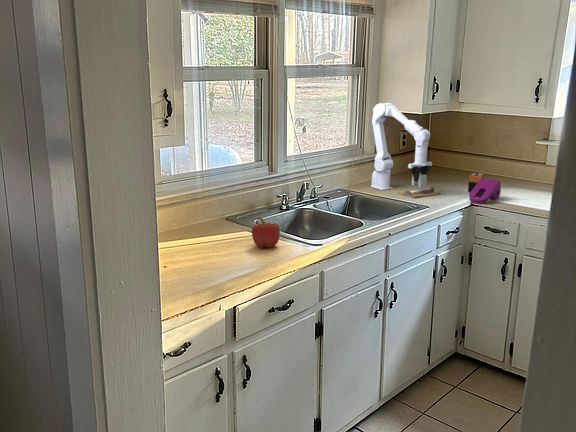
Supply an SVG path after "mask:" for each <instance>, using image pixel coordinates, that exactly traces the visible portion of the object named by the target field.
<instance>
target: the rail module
mask: <svg viewBox="0 0 576 432" xmlns="http://www.w3.org/2000/svg"><path fill="white" fill-rule="evenodd" d="M411 174H412V173H411ZM427 178H428V174H427V175H425V174H420V173H419V178H418V182H415V181H414V178H413V174H412V177H411V186H413V187H416V186H418V188H425V187H427V181H428V179H427Z"/></svg>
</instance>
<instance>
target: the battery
mask: <svg viewBox="0 0 576 432" xmlns="http://www.w3.org/2000/svg"><path fill="white" fill-rule="evenodd" d="M481 178H486V176H485V175H484V174H483V173H478V174H477V173H476V172H475V173H474V172H473V173H472V174H469V177H468V187H467V192H468V193H470V192H471V191H472V190H473V188H474V187H475V186H476V184H477V183H478V182H479V180H480V179H481Z"/></svg>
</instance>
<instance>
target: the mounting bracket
mask: <svg viewBox="0 0 576 432" xmlns="http://www.w3.org/2000/svg"><path fill="white" fill-rule="evenodd" d="M501 186H502V185H501V180H499V179H492V178H486V177H485V178H481V179H480V180H479V182H478V183H477V184H476V186H475V187H474V188H473V190H472V191H471V192H469V194H468V196H469V201H470V202H471V203H472V204H479V205H481V204H485V203H488V201H489V200H490V201H491V200H492V201H498V200H499V198H500V196H501V191H502V189H501Z"/></svg>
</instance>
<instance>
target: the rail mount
mask: <svg viewBox="0 0 576 432" xmlns="http://www.w3.org/2000/svg"><path fill="white" fill-rule="evenodd" d="M435 190H436V187H434V186H428V188H422V189H415V190H414V189H413V190H404V191H402V192H398V195H402V196H404V197H409V198H411V199H419V198H426V197H430V196H431V197H432V196H437V195H438V196H439V195H441V192H437V191H435Z"/></svg>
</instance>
